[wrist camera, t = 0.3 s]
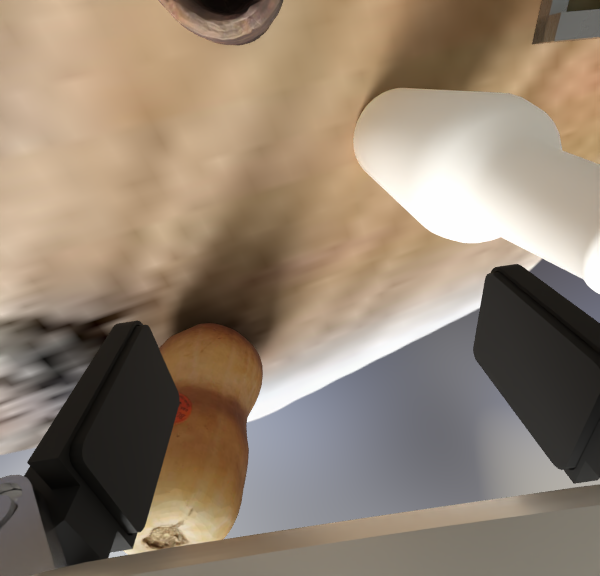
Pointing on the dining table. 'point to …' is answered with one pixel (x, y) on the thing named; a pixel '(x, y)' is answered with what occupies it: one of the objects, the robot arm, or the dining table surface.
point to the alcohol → (484, 172)
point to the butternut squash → (204, 438)
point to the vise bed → (565, 23)
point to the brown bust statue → (225, 18)
